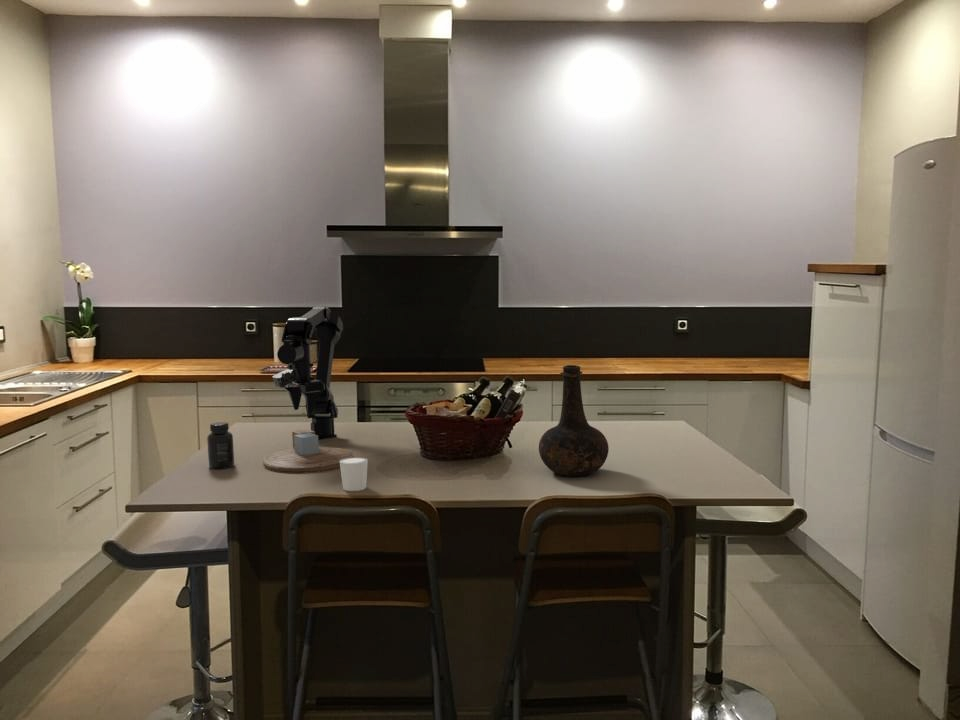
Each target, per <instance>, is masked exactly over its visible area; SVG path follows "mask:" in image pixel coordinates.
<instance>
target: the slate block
mask: <svg viewBox="0 0 960 720" xmlns="http://www.w3.org/2000/svg"><path fill="white" fill-rule="evenodd" d="M294 441H295V448H294V449H295V453H298V454H300V455H308V454H314V453H319V447H320V446H319V439H318V435H315V434H312V433H306V434H299V435H294Z"/></svg>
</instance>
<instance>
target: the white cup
mask: <svg viewBox="0 0 960 720" xmlns="http://www.w3.org/2000/svg"><path fill="white" fill-rule="evenodd" d="M368 463H369V461H368V458H365V457H355V456H354V458H346V459H342V460H340V468H339V469H340V475H341V483H342V489H343V490H344V491H347V492H358V491H363V490H365V489H367V479H368V477H367V476H368Z"/></svg>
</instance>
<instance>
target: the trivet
mask: <svg viewBox="0 0 960 720" xmlns="http://www.w3.org/2000/svg"><path fill="white" fill-rule="evenodd" d="M318 447H319V453H314V454H308V455H300V454H298V453H295V448H293V449H285V450H281V451H277V452H274V453H271V454H268V455H266V456H265V457H264V458H263V461H262V465H264V466H265V467H264V466H263V467H264V468H265V469H266V468H268V469H267V470H269V469H270V471H272V470H274V472H277V471H278V472H277V473H288V474H289V473H290V474H295V473H296V474H303V472H308V473H318V471H320V472H326V471H333V470H337V469H340V460H342V459H346V458H354V457H355V453H354V451H351V450H349V449H344V448H338V447H326V446H324V447H323V446H321V447H320V446H318Z"/></svg>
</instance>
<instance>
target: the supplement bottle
mask: <svg viewBox="0 0 960 720" xmlns="http://www.w3.org/2000/svg"><path fill="white" fill-rule="evenodd" d="M209 426H210V427H209V431H210V433H209V434H208V435H207V437H206V441H207V442H206V443H207V454H208V455H207V457H208V458H207V459H208V467H209V468H210V469H212V468H213V470H223V469H228V468H232V467H234V466H235V450H234V449H235V448H234V436H233V433H232V432H230V431H229V429H230V428H229V422H227V421H222V422H220V421H219V422H213V423H210V424H209Z"/></svg>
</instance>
